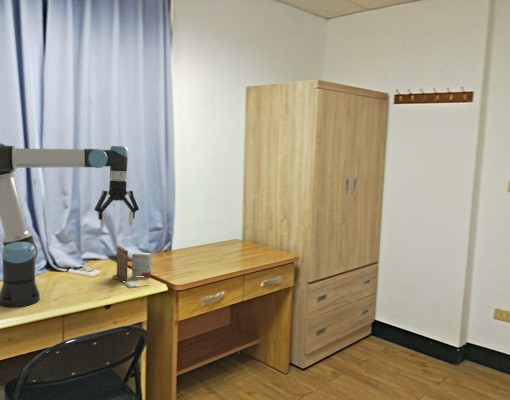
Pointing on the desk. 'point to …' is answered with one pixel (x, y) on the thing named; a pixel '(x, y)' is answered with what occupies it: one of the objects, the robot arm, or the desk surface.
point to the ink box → (141, 264)
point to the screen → (121, 264)
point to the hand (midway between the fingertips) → (116, 226)
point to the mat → (132, 283)
